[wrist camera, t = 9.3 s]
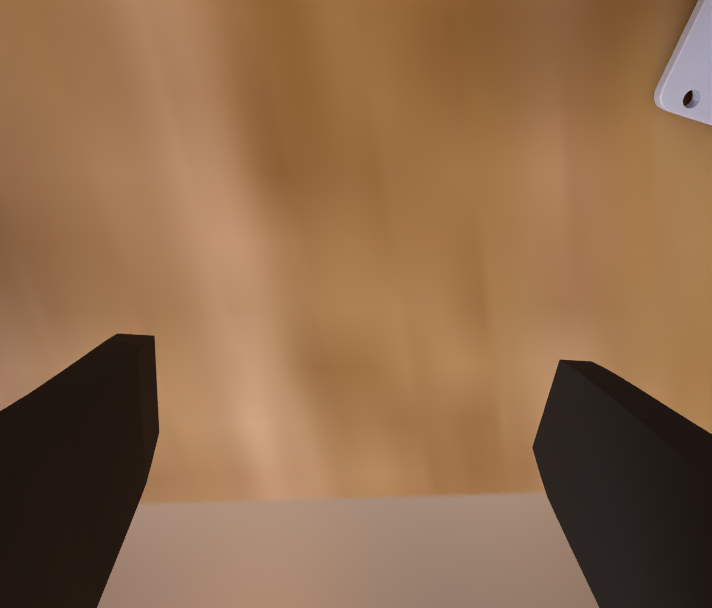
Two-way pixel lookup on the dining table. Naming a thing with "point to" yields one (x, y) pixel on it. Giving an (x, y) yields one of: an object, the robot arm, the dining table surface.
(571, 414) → the robot arm
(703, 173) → the dining table surface
